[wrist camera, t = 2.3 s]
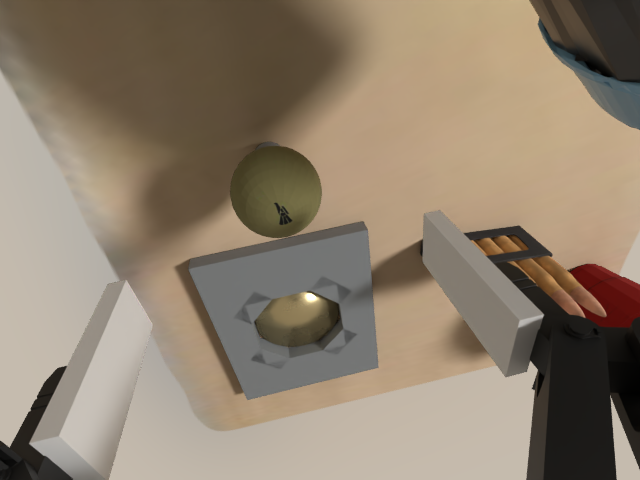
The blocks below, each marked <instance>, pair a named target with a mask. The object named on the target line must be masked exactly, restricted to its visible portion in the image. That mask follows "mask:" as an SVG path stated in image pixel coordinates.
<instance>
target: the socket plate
mask: <svg viewBox="0 0 640 480" xmlns="http://www.w3.org/2000/svg"><path fill="white" fill-rule="evenodd" d="M188 270H189V272H190V274H191V276H192V279H193V281H194V283H195V285H196V288H197V290H198V292H199V294H200V296H201V299H202V301H203V303H204V305H205V307H206V310H207V312H208V314H209V316H210V318H211V321H212V323H213V325H214V327H215V330H216V332H217V334H218V336H219V338H220V341H221V343H222V345H223V347H224V349H225V352H226V354H227V356H228V358H229V361H230V363H231V365H232V367H233V369H234V372H235V374H236V376H237V378H238V380H239V383H240V385H241V387H242V389H243V391H244V394H245V396H246V398H247V400H250V399H254V398H258V397H262V396H266V395H270V394H274V393H278V392H282V391H286V390H290V389H294V388H298V387H302V386H306V385H310V384H314V383H318V382H322V381H326V380H330V379H334V378H338V377H342V376H347V375H351V374H355V373H359V372H363V371H367V370H371V369H375V368H378V355H377V342H376V329H375V316H374V303H373V290H372V277H371V264H370V251H369V238H368V229H367V227H366V226H365V224H364V222H358V223H354V224H349V225H344V226H340V227H335V228H331V229H326V230H321V231H317V232H312V233H308V234H303V235H298V236H294V237H289V238H285V239H280V240H275V241H271V242H266V243H262V244H257V245H252V246H248V247H243V248H239V249H234V250H229V251H225V252H220V253H216V254H211V255H206V256H202V257H197V258H193V259H190V263H189V268H188ZM336 302H337V303H338V306H337V303H336ZM338 307H339V314H340V320H339V321H338V322H337V323H336V321H337V318H338ZM255 320H256V325H255V322H254V321H255ZM335 323H336V324H335ZM256 326H257V328H256ZM257 329H258V330H257ZM258 331H259V333H260V334H261V335H262V336H263V337H264V338H265V339H266V340H265V339H263V338H260V336H259V333H258ZM322 337H323V338H322ZM321 338H322V339H321ZM319 339H321V340H319ZM317 340H318V341H317ZM285 346H286V347H285ZM288 347H289V348H288Z"/></svg>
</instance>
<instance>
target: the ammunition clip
mask: <svg viewBox="0 0 640 480" xmlns="http://www.w3.org/2000/svg"><path fill="white" fill-rule="evenodd" d="M463 234H464V235H465V236H466V237H467V238H468V239H469V240H470V241H471V242H472V243H473V244H474V245H475V246H476V247H477V248H478V249H479V250H480V251H481V252H482V253H483V254H484V255H485V256H486V257H487V258H488V259H489V260H490V261H491V262H492V263H493V264H495V263H499V262H504V261H506V262H508V263H510V264H512V265H514V266H516V267H518V268H520V269H521V270H522V271H523V272H524V273H525V274H526V275H527V276H528V277H529V279H531V280H532V281H534V282H535V283H536V284H537V286H539V287H540V288H541V289H542V290H543V291H544V292H545V293H547V294H548V295H549V296H550V297H551V298H552V299H553V300H554V301H555V302H556V303H557V304H558V305H559V306H561V307H562V308H563V309H564V310H565V311H566V312H567V313H568V314H570V315H578V316H581V317H584V318H585V315H584V313H583V311H582V310H581V308H580V307H579V306H578V304H577V303H576V302H575V301H577V302H578V303H579V304H580V305H582V306H583V307H585V308H586V309H588V310H589V311H591V312H593V313H595V314H597V315H599V316H602V317H606V316H607V315H606V312H605V310H604V309H603V307H602V306H601V304H600V303H599V302H598V301H597V300H596V299H595V298H594V297H593V296H592V295H591V294H590V293H589V292H588V291H587V290H586V289H585V288H584V287H583V286H582V285H581V284H580V283H578V282H577V281H576V279H575V278H574V277H573V276H572V275H571V274H570V273H569V272H568V271H567V270H566V269H564V268H563V267H562V266H561V265H560V264H558V263H557V262H556V261H555V260H553V259H552V258H551V257H552V253H551V252H550V251H548V250H547V249H546V248H545V247H544V246H543V245H541V244H540V243H539V242H538V241H537V240H536V239H534V238H533V237H532V236H531V235H530V234H528V233H527V232H526V231H525V230H524V229H523V228H521V227H520V226H513V227H506V228H499V229H491V230H484V231H477V232H469V233H463ZM420 254H421V256H422V257H423V240H422V245H421V252H420ZM571 297H572V298H573V299H574V300H575V301H574V300H573V299H572V298H571Z"/></svg>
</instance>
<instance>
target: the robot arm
mask: <svg viewBox="0 0 640 480" xmlns="http://www.w3.org/2000/svg"><path fill="white" fill-rule="evenodd" d="M529 1H530V2H531V4H532V6H533V7H534V9H535V11H536V12H537V14H538V16H539V22H538V26H539V29H540V31H541V34H542V36H543V39H544V40H545V42H546V43H547V44H548V46H549V47H550V49H551V50H552V52H553V54H554V55H555V56H556V57H557V58H558V59H559V60H560V61H561V62H562V63H563V64H565V65H566V66H567V67H569V68H570V69H572V70H573V71H574V73H575V74H576V75H577V77H578V78H579V79H580V81H581V82H582V83H583V85H584V86H585V88H586V89H587V91H588V92H589V94H590V95H591V97H592V98H593V99H594V100H595V101H596V102H597V104H598V105H599V106H600V107H601V108H603V109H604V110H605V111H606V112H607V113H609V114H610V115H611V116H613V117H614V118H616V119H617V120H619V121H621V122H622V123H624V124H626V125H628V126H630V127H633V128H637V129H639V130H640V0H529ZM423 263H424V265H425V266H426V268H427V269H428V270H429V272H430V273H431V274H432V276H433V277H434V279H435V280H436V281H437V283H438V284H439V286H440V287H441V288H442V290H443V291H444V293H445V294H446V295H447V297H448V298H449V299H450V301H451V302H452V304H453V305H454V306H455V308H456V309H457V311H458V312H459V313H460V315H461V316H462V318H463V319H464V320H465V322H466V323H467V324H468V326H469V327H470V329H471V330H472V331H473V333H474V334H475V336H476V337H477V338H478V340H479V341H480V342H481V344H482V345H483V347H484V348H485V349H486V351H487V352H488V354H489V355H490V356H491V358H492V359H493V361H494V362H495V363H496V365H497V366H498V367H499V369H500V370H501V371H502V373H503V374H504V376H505V377H508V376H512V375H516V374H520V373H524V372H527V369H528V366H529V362H530V361H531V362H532V363H533V364H534V365H535V366H536V368H537V369H538V372H537V375H536V378H535V381H534V384H533V388H532V389H533V390H535V396H534V406H533V416H532V427H531V437H530V447H529V458H528V469H527V479H526V480H617V479H616V465H615V452H614V439H613V427H612V413H611V399H610V395H611V398H612V400H613V403H614V405H615V408H616V411H617V413H618V416H619V418H620V421H621V423H622V425H623V428H624V431H625V433H626V436H627V438H628V441H629V443H630V446H631V448H632V451H633V454H634V456H635V459H636V461H637V464H638V466H639V469H640V317H637V318H635V319H634V320H633V322H632V324H631V326H630V327H629V328H628V327H600V326H598V325H597V324H596V323H594V322H593V321H591V320H589V319H587V318H584V317H581V316H578V315H570V314H568V313H567V312H566V311H565V310H564V309H563V308H562V307H561V306H559V305H558V304H557V303H556V302H555V301H554V300H553V299H552V298H551V297H550V296H549V295H548V294H547V293H545V292H544V291H543V290H542V289H541V288H540V287H539V286H537V284H536V283H535V282H534V281H532V280H531V279H529V277H528V276H527V275H526V274H525V273H524V272H523V271H522V270H521V269H520V268H518V267H516V266H514V265H512V264H510V263H508V262H506V261H504V262H499V263H495V264H493V263H492V262H491V261H490V260H489V259H488V258H487V257H486V256H485V255H484V254H483V253H482V252H481V251H480V250H479V249H478V248H477V247H476V246H475V245H474V244H473V243H472V242H471V241H470V240H469V239H468V238H467V237H466V236H465V235H464V234H463V233H462V232H461V231H460V230H459V229H458V228H457V227H456V226H455V225H454V224H453V223H452V222H451V221H450V220H449V219H448V218H447V217H446V216H445V215H444V214H443V213H442V212H441V211H440V210H438V211H434V212H429V213H425V214H424V225H423ZM152 326H153V324H152V323H151V321H150V319H149V318H148V316H147V314H146V312H145V311H144V309H143V307H142V306H141V304H140V302H139V301H138V299H137V297H136V295H135V294H134V292H133V290H132V289H131V287H130V285H129V283H128V282H127V280H123V281H119V282H114V283H110V284H108V285H107V287H106V289H105V291H104V293H103V295H102V297H101V299H100V301H99V303H98V305H97V307H96V309H95V311H94V313H93V315H92V317H91V319H90V321H89V323H88V325H87V328H86V329H85V331H84V333H83V335H82V337H81V340H80V341H79V343H78V345H77V348H76V349H75V352H74V354H73V356H72V358H71V360H70V362H69V364H68V366H64V367H60V368H57V369H56V370H55V371H54V372H53V374H52V375H51V376H50V377H49V378H48V379H47V380H46V381H45V383H44V384H43V387H42V388H41V390H40V392H39V394H38V396H37V399H36V400H35V401H34V403H33V405H32V407H31V411H30V412H28V414H27V416H26V418H25V420H24V422H23V424H22V426H21V427H20V429H19V431H18V433H17V435H16V437H15V439H14V441H13V442H12V444H11V446H10V448H9V447H8V446H6V445H5V444H4V443H3V442H1V441H0V480H109V476H110V473H111V469H112V466H113V462H114V459H115V455H116V452H117V448H118V445H119V441H120V438H121V434H122V431H123V427H124V424H125V420H126V417H127V413H128V410H129V406H130V403H131V399H132V396H133V392H134V389H135V385H136V382H137V378H138V375H139V371H140V368H141V364H142V361H143V357H144V354H145V350H146V347H147V343H148V340H149V336H150V333H151V329H152Z"/></svg>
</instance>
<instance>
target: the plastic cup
mask: <svg viewBox="0 0 640 480" xmlns="http://www.w3.org/2000/svg"><path fill="white" fill-rule="evenodd" d="M569 273H570V274H571V275H572V276H573V277H574V278H575V279H576V281H577V282H578V283H580V284H581V285H582V286H583V287H584V288H585V289H586V290H587V291H588V292H589V293H590V294H591V295H592V296H593V297H594V298H595V299H596V300H597V301H598V302H599V303H600V304H601V306H602V307H603V309H604V310H605V312H606V315H607V316H606V317H602V316H599V315H597V314H595V313H593V312H591V311H589V310H588V309H586V308H585V307H583V306H582V305H580V304H579V303H578V302H577V301H575V300H574V299H573V298H572V297H571V298H572V299H573V300H574V301H575V302H576V303H577V304H578V306H579V307H580V308H581V310H582V311H583V313H584V315H585V318H587V319H589V320H591V321H593V322H594V323H596V324H597V325H598V326H600V327H628V328H629V327H630V326H631V324H632V322H633V320H634V319H635V318H637V317H640V284H638V283H635V282H633V281H631V280H629V279H627V278H625V277H621V276H619V275H617V274H615V273H613V272H611V271H609V270H607V269H606V268H604V267H602V266H598V265H596V264H586V265H582V266H579V267H577V268H575V269H574V270H572V271H570V272H569Z"/></svg>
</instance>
